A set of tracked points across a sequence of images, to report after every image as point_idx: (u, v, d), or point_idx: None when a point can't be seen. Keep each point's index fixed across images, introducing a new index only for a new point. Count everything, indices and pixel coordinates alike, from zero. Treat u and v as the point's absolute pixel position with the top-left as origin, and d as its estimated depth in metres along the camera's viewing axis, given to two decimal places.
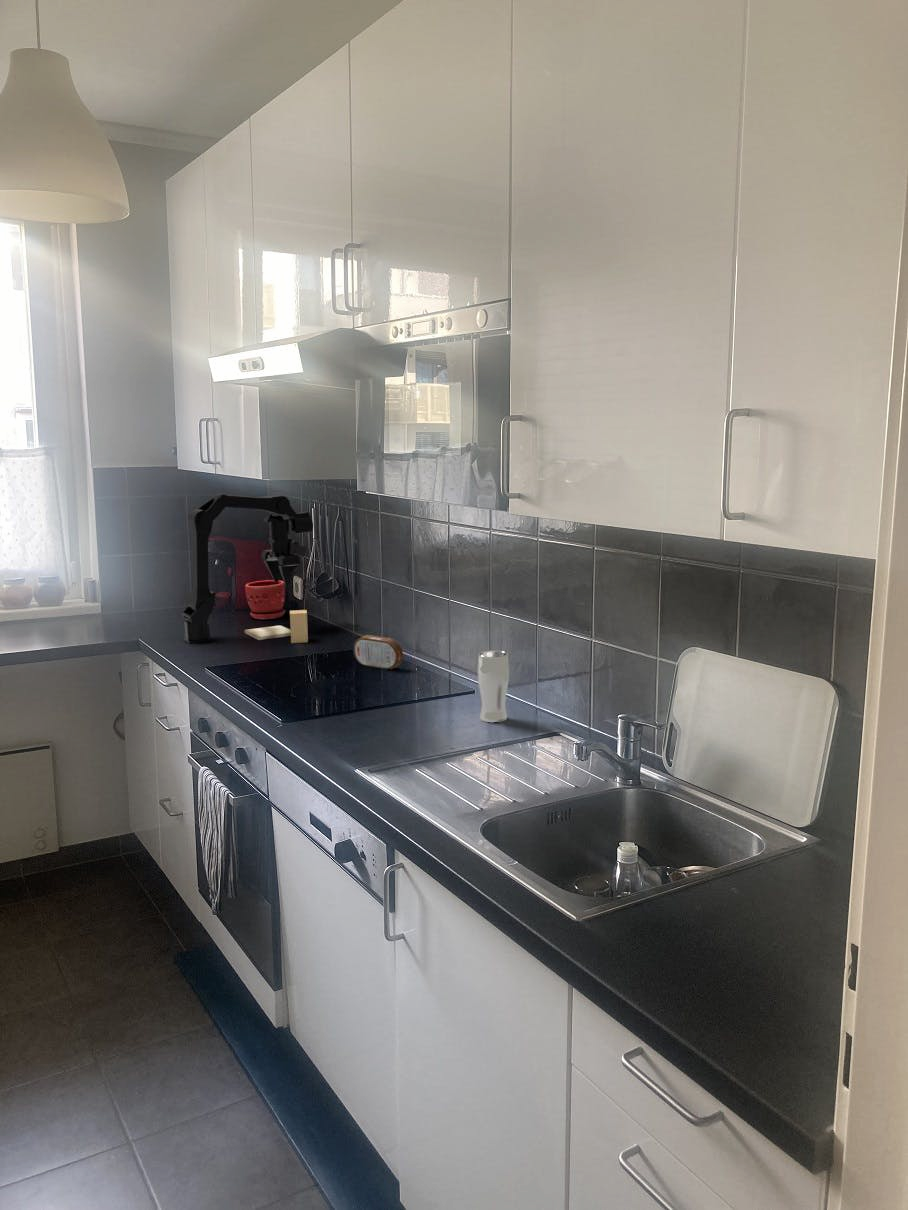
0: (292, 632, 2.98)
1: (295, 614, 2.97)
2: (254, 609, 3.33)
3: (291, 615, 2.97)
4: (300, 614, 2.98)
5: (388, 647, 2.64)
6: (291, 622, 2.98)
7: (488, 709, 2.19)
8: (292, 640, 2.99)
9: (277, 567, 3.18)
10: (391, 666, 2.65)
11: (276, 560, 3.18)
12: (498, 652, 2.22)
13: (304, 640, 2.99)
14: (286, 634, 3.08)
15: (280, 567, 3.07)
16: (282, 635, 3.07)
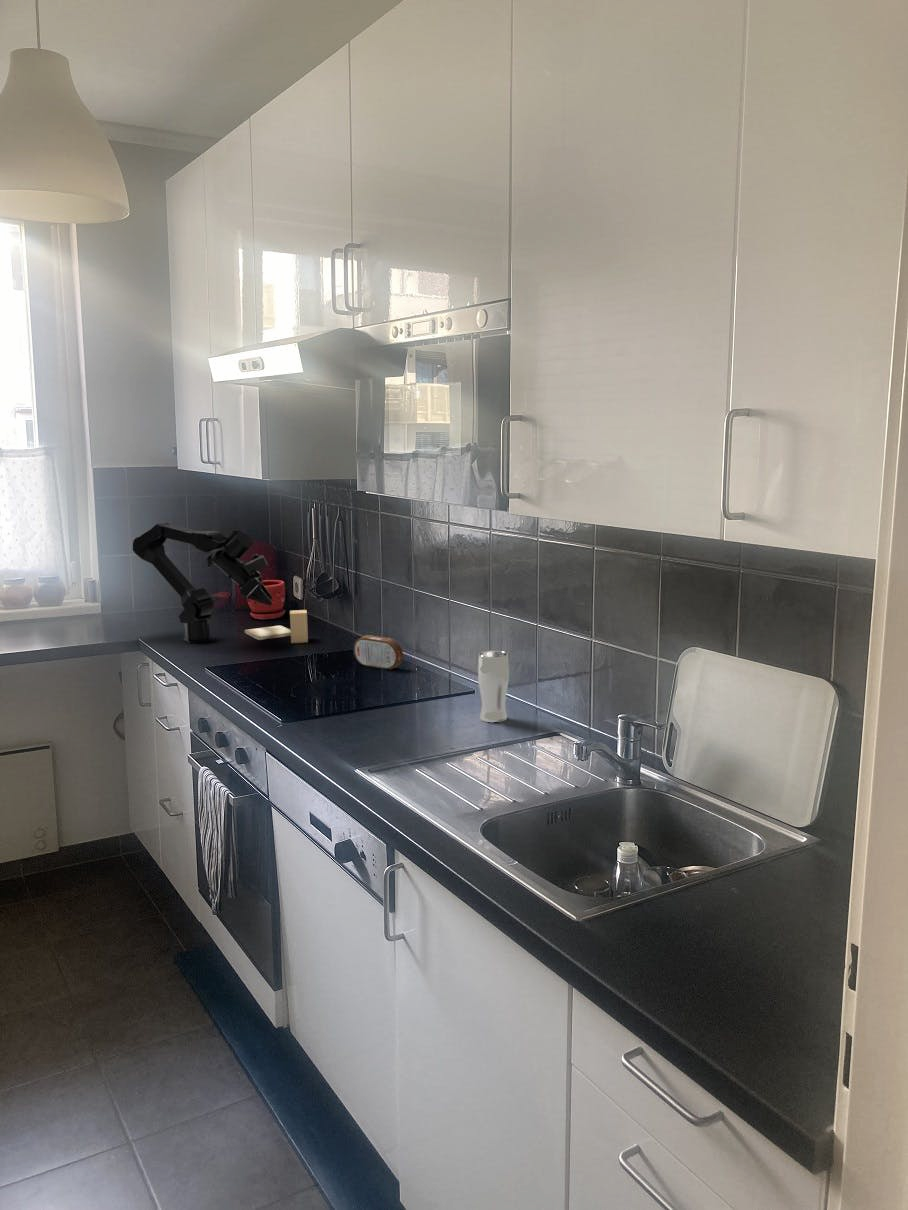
0: (292, 632, 2.98)
1: (295, 614, 2.97)
2: (254, 609, 3.33)
3: (291, 615, 2.97)
4: (300, 614, 2.98)
5: (388, 647, 2.64)
6: (291, 622, 2.98)
7: (488, 709, 2.19)
8: (292, 640, 2.99)
9: (261, 587, 3.01)
10: (391, 666, 2.65)
11: None
12: (498, 652, 2.22)
13: (304, 640, 2.99)
14: (286, 634, 3.08)
15: None
16: (282, 635, 3.07)
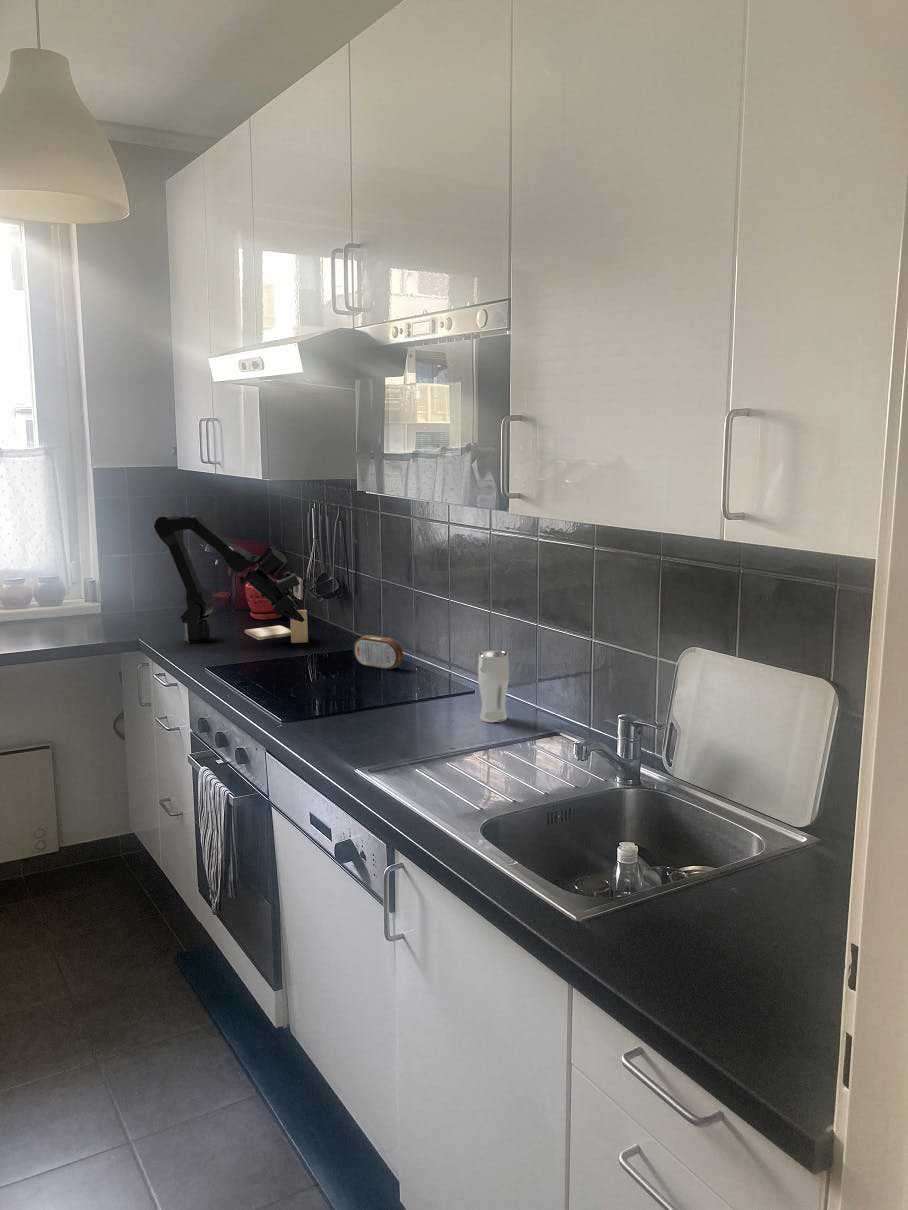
0: (292, 632, 2.98)
1: None
2: (254, 609, 3.33)
3: None
4: None
5: (388, 647, 2.64)
6: (291, 622, 2.97)
7: (488, 709, 2.19)
8: (292, 640, 2.99)
9: None
10: (391, 666, 2.65)
11: None
12: (498, 652, 2.22)
13: (304, 640, 2.99)
14: (286, 634, 3.08)
15: None
16: (282, 635, 3.07)
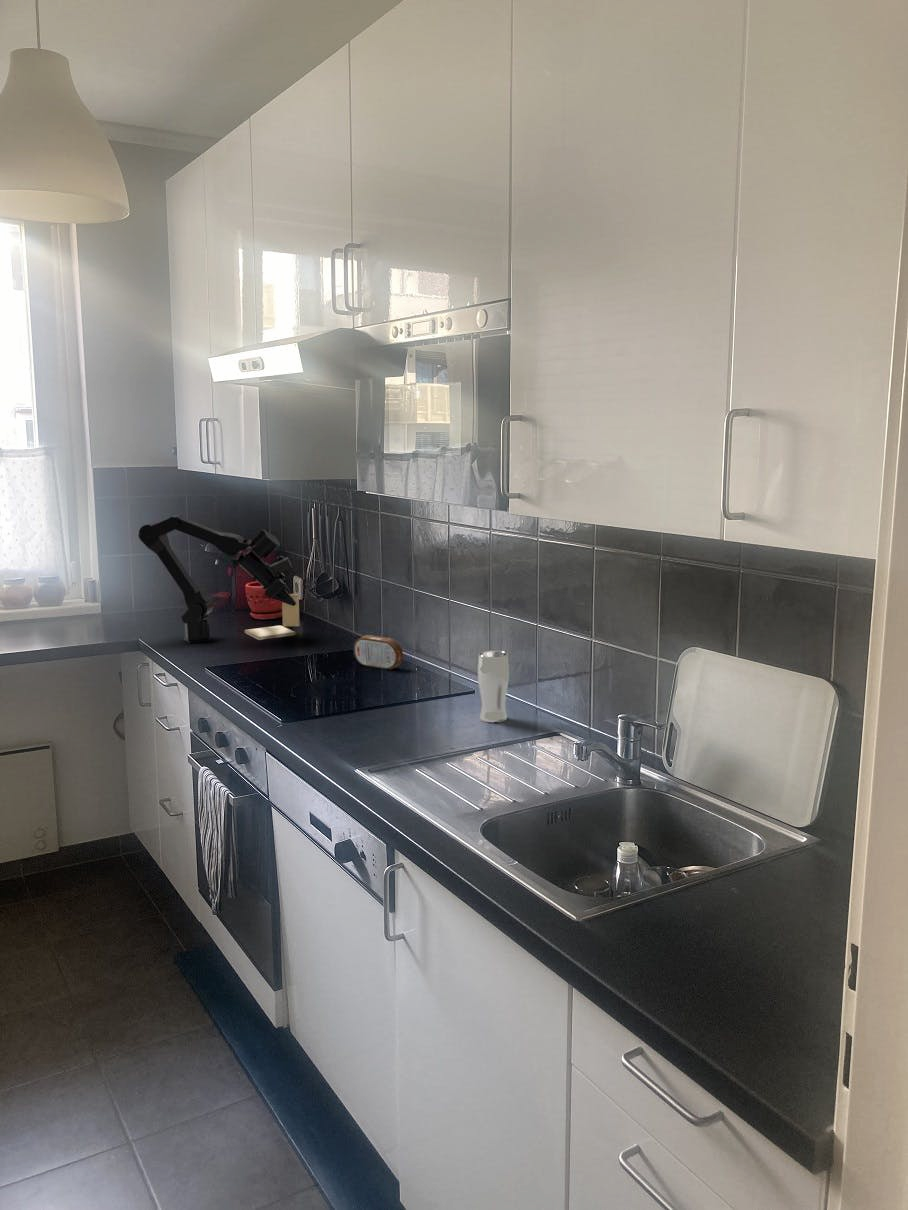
0: (284, 616, 2.99)
1: None
2: (254, 609, 3.33)
3: None
4: None
5: (388, 647, 2.64)
6: (283, 606, 2.99)
7: (488, 709, 2.19)
8: (284, 623, 3.00)
9: None
10: (391, 666, 2.65)
11: None
12: (498, 652, 2.22)
13: (296, 624, 3.00)
14: (286, 634, 3.08)
15: None
16: (282, 635, 3.07)
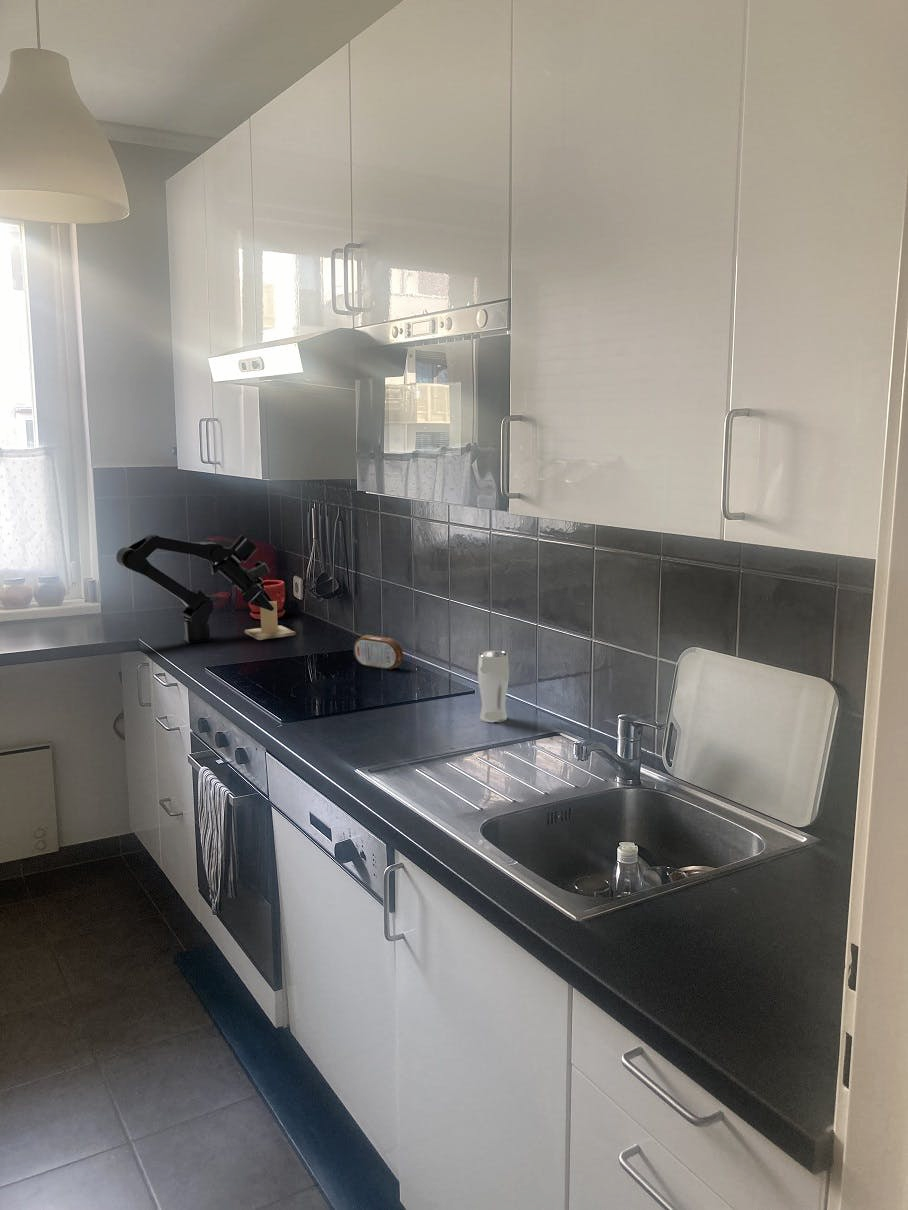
0: (262, 622, 3.08)
1: None
2: (254, 609, 3.33)
3: None
4: None
5: (388, 647, 2.64)
6: (261, 613, 3.07)
7: (488, 709, 2.19)
8: (262, 630, 3.08)
9: (263, 592, 3.13)
10: (391, 666, 2.65)
11: None
12: (498, 652, 2.22)
13: (274, 630, 3.09)
14: (286, 634, 3.08)
15: (250, 603, 3.02)
16: (282, 635, 3.07)
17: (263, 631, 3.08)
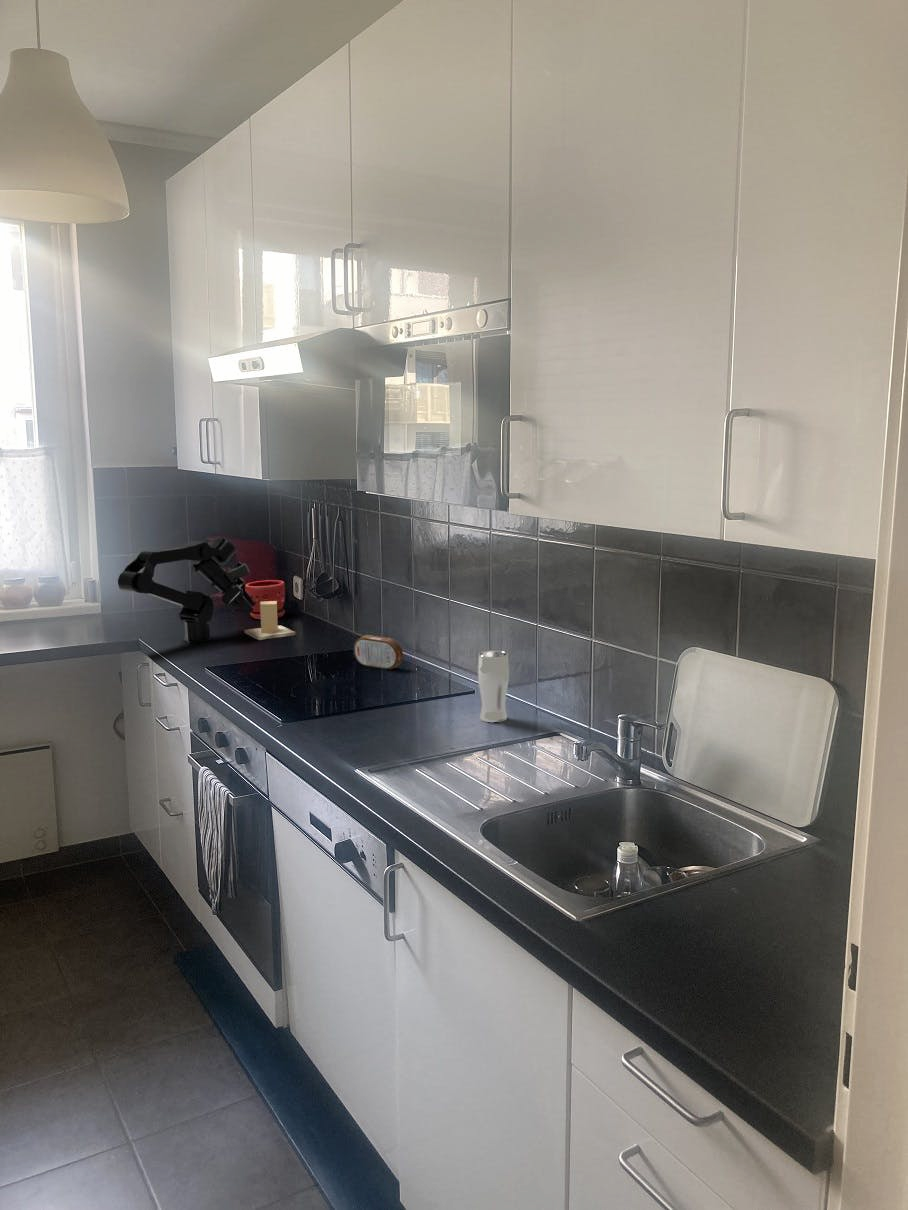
0: (262, 622, 3.08)
1: (265, 605, 3.07)
2: (254, 609, 3.33)
3: (261, 606, 3.07)
4: (270, 605, 3.07)
5: (388, 647, 2.64)
6: (261, 613, 3.07)
7: (488, 709, 2.19)
8: (262, 630, 3.08)
9: (244, 593, 3.12)
10: (391, 666, 2.65)
11: None
12: (498, 652, 2.22)
13: (274, 630, 3.09)
14: (286, 634, 3.08)
15: (230, 604, 3.01)
16: (282, 635, 3.07)
17: (263, 631, 3.08)
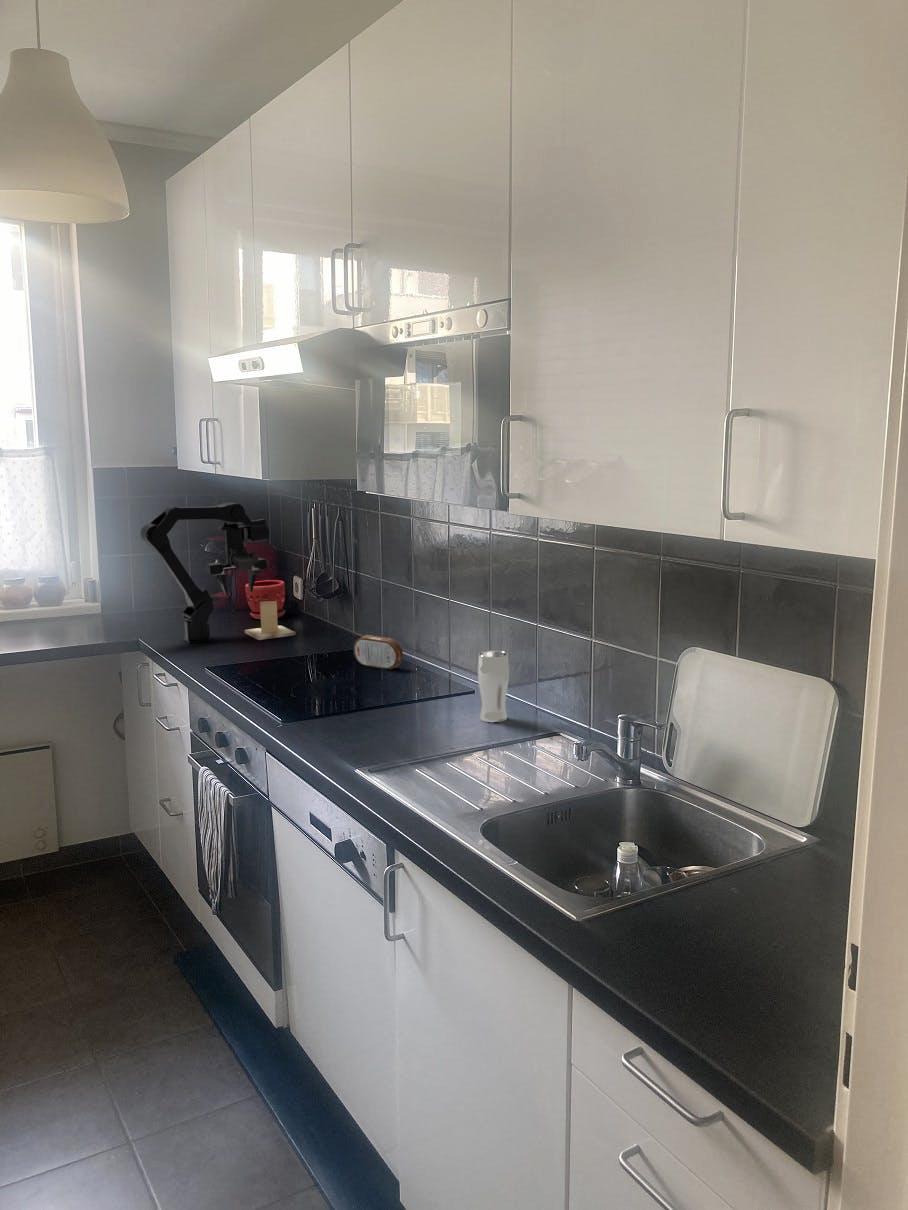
0: (262, 622, 3.08)
1: (265, 605, 3.07)
2: (254, 609, 3.33)
3: (261, 606, 3.07)
4: (270, 605, 3.07)
5: (388, 647, 2.64)
6: (261, 613, 3.07)
7: (488, 709, 2.19)
8: (262, 630, 3.08)
9: (251, 577, 3.09)
10: (391, 666, 2.65)
11: (252, 570, 3.09)
12: (498, 652, 2.22)
13: (274, 630, 3.09)
14: (286, 634, 3.08)
15: None
16: (282, 635, 3.07)
17: (263, 631, 3.08)
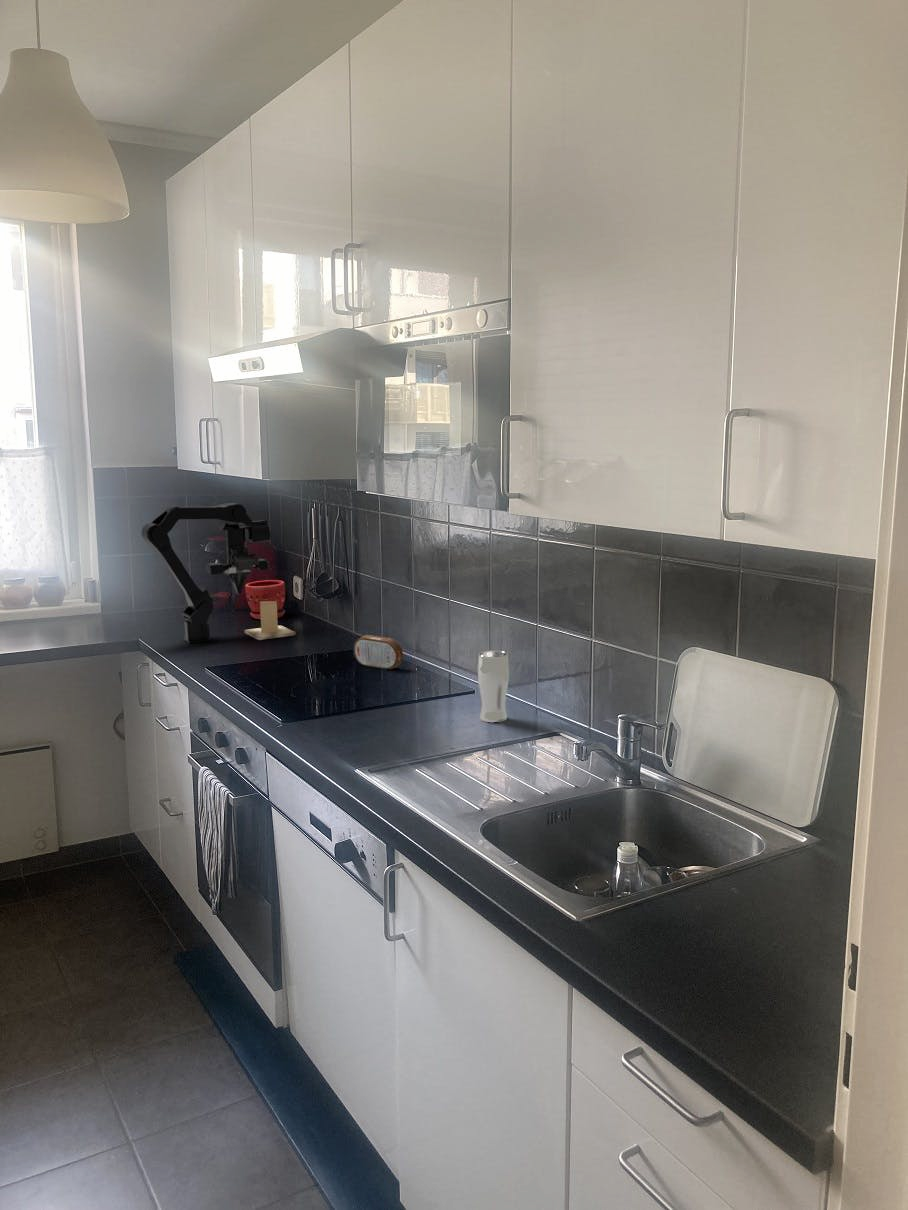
0: (262, 622, 3.08)
1: (265, 605, 3.07)
2: (254, 609, 3.33)
3: (261, 606, 3.07)
4: (270, 605, 3.07)
5: (388, 647, 2.64)
6: (261, 613, 3.07)
7: (488, 709, 2.19)
8: (262, 630, 3.08)
9: (240, 579, 3.07)
10: (391, 666, 2.65)
11: (241, 571, 3.07)
12: (498, 652, 2.22)
13: (274, 630, 3.09)
14: (286, 634, 3.08)
15: None
16: (282, 635, 3.07)
17: (263, 631, 3.08)
